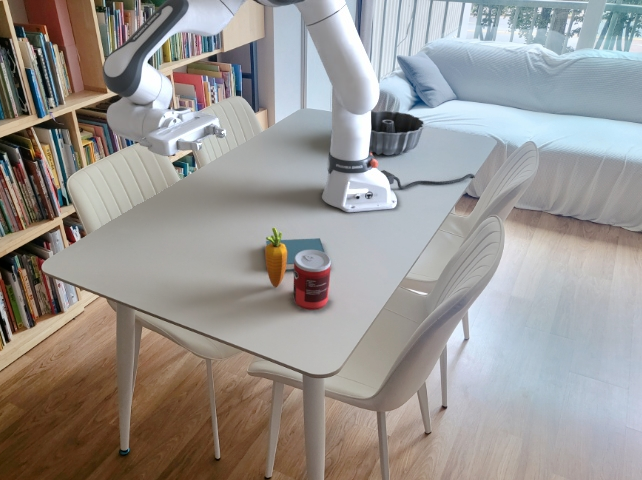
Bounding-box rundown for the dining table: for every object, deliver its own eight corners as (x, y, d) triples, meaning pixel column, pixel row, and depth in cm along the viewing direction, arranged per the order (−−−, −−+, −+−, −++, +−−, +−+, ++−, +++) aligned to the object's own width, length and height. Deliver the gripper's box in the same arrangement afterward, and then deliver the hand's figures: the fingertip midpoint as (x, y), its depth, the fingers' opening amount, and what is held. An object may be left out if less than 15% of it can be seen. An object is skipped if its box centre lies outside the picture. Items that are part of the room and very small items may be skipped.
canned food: (304, 285, 121) (306, 245, 115) (334, 298, 117) (338, 257, 111) (286, 302, 116) (286, 260, 110) (316, 315, 112) (318, 273, 106)
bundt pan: (334, 145, 195) (336, 119, 190) (379, 130, 210) (382, 105, 204) (390, 167, 180) (394, 139, 174) (434, 149, 194) (439, 122, 189)
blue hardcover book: (319, 245, 136) (320, 238, 135) (327, 268, 127) (327, 261, 126) (266, 247, 135) (266, 240, 133) (269, 271, 126) (269, 264, 124)
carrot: (284, 294, 118) (285, 237, 110) (262, 291, 119) (262, 234, 110) (288, 282, 122) (289, 226, 114) (267, 279, 123) (267, 223, 114)
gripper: (132, 128, 115) (181, 140, 109) (189, 105, 129) (236, 114, 124) (136, 156, 118) (184, 168, 113) (192, 130, 133) (237, 140, 128)
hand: (212, 140), depth 119 cm, fingers open, 8 cm apart
